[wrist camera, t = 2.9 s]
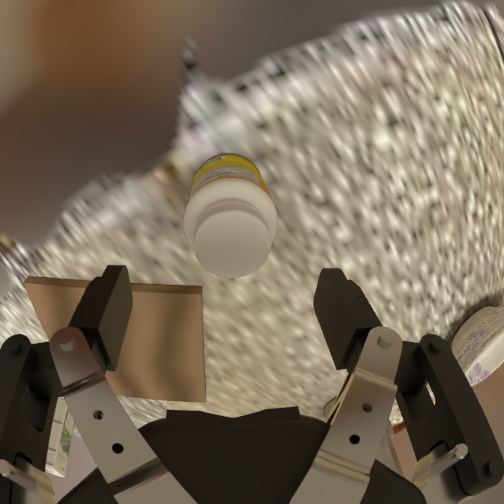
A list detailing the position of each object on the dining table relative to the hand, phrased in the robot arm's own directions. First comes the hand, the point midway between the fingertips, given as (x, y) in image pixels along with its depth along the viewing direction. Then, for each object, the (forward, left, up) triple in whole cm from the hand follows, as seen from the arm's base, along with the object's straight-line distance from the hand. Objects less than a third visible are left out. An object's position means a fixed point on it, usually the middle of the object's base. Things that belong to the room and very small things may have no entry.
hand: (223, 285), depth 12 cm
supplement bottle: (0, 0, -13) cm, 13 cm away
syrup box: (+30, +40, -13) cm, 51 cm away
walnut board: (+12, +20, -13) cm, 26 cm away
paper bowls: (-42, +20, -13) cm, 49 cm away
